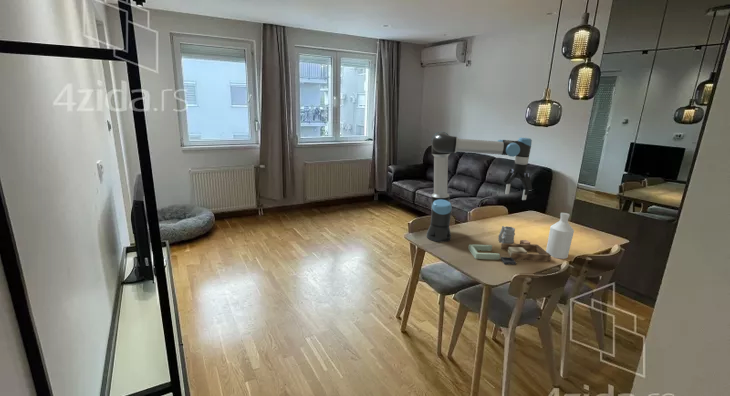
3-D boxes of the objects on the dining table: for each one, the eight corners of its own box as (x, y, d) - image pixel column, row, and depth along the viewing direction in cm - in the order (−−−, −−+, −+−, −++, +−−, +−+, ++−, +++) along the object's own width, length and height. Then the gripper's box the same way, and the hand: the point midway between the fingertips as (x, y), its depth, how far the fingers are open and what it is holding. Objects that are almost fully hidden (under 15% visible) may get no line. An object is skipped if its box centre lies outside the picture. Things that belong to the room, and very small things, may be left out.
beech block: (511, 257, 196) (513, 251, 195) (507, 253, 201) (508, 246, 200) (525, 258, 196) (527, 251, 195) (521, 253, 202) (522, 247, 201)
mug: (516, 244, 214) (519, 226, 211) (502, 247, 209) (505, 228, 206) (506, 239, 221) (509, 222, 218) (493, 242, 216) (495, 224, 212)
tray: (504, 264, 187) (504, 261, 186) (500, 259, 192) (500, 256, 192) (515, 264, 187) (515, 262, 187) (510, 259, 193) (511, 257, 192)
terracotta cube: (523, 249, 208) (524, 242, 207) (519, 246, 212) (520, 240, 211) (529, 248, 209) (530, 242, 208) (524, 245, 213) (525, 239, 212)
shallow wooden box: (511, 259, 192) (512, 254, 191) (500, 248, 207) (501, 243, 206) (549, 261, 193) (550, 255, 192) (536, 249, 207) (537, 244, 206)
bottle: (573, 257, 198) (582, 216, 192) (556, 259, 195) (565, 217, 188) (556, 249, 209) (565, 210, 203) (540, 251, 206) (548, 211, 199)
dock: (475, 258, 192) (476, 253, 191) (468, 249, 204) (468, 244, 203) (499, 259, 192) (500, 254, 191) (490, 249, 204) (491, 245, 204)
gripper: (542, 167, 203) (536, 201, 209) (509, 159, 225) (504, 191, 230) (533, 167, 200) (527, 202, 206) (501, 159, 222) (496, 192, 227)
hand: (515, 196), depth 218 cm, fingers open, 13 cm apart
